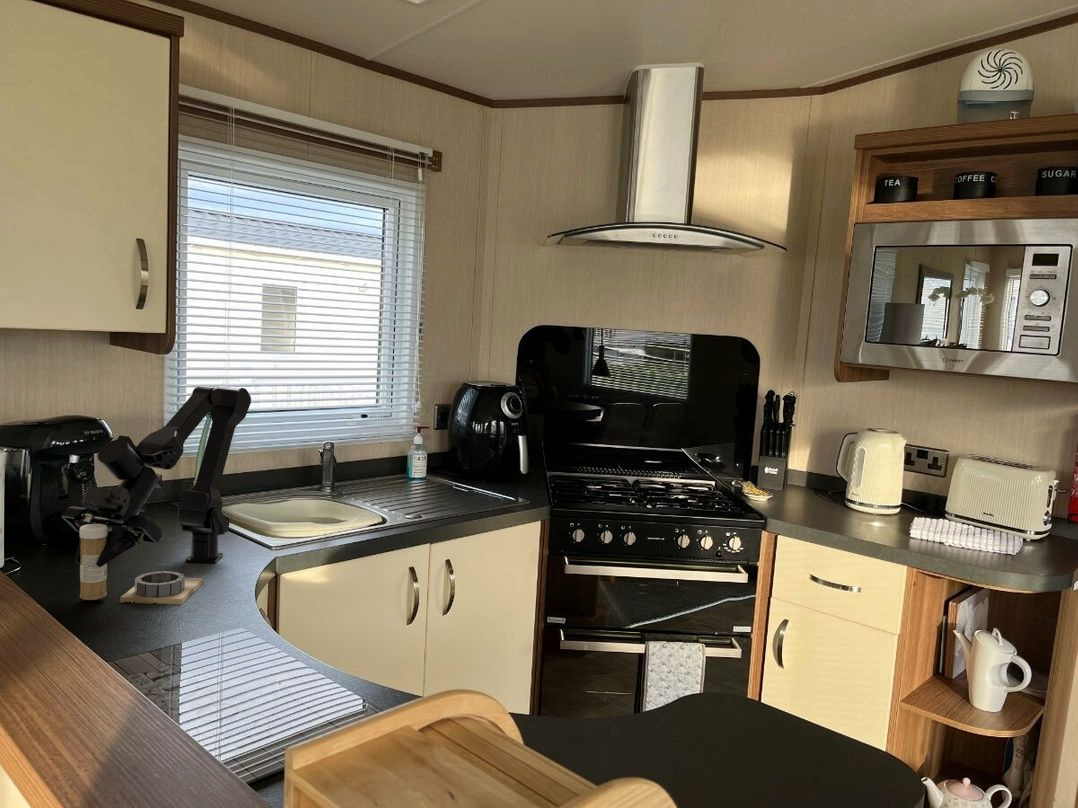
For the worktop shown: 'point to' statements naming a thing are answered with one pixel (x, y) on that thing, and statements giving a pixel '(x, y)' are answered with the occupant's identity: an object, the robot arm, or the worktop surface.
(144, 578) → the socket ring
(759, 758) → the worktop surface
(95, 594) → the sprinkles bottle
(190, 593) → the carrier plate
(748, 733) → the worktop surface
